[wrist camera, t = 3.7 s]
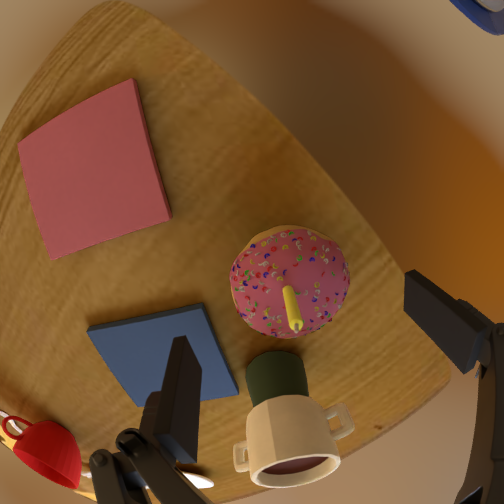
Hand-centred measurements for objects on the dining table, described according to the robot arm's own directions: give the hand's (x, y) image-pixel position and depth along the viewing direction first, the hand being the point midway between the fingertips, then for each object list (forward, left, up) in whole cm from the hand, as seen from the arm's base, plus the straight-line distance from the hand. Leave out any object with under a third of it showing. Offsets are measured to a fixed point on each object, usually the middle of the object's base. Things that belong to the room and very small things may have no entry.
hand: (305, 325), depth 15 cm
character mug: (+3, +12, -10) cm, 15 cm away
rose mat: (+14, -12, -9) cm, 21 cm away
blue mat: (+14, +8, -9) cm, 18 cm away
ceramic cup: (+45, +21, -10) cm, 50 cm away
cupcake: (0, 0, -10) cm, 10 cm away
